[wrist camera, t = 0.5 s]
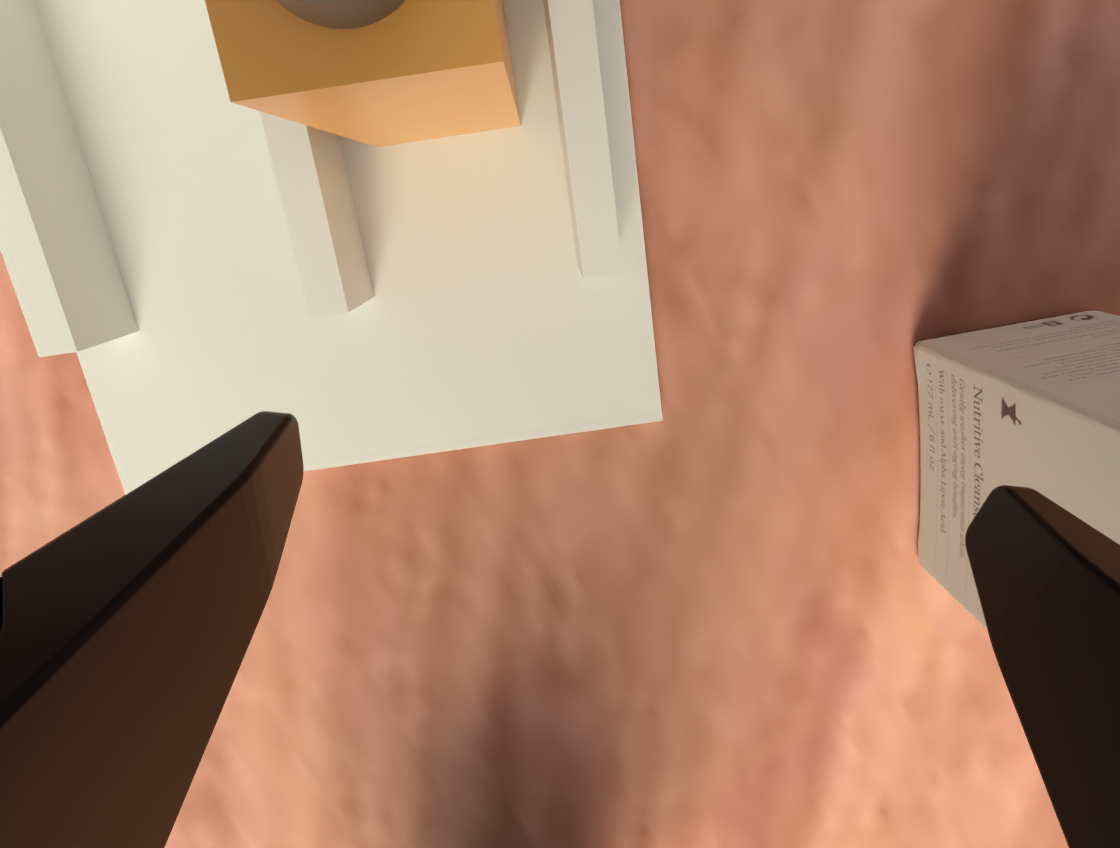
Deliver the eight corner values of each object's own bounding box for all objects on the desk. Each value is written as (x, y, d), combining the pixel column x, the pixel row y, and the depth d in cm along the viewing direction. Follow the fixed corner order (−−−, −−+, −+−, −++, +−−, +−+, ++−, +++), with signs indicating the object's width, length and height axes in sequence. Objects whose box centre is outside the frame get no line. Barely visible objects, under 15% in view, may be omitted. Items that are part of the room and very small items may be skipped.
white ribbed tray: (659, 415, 23) (687, 465, 19) (135, 489, 24) (43, 556, 19) (587, -281, 18) (603, -436, 14) (-89, -175, 18) (-289, -293, 14)
